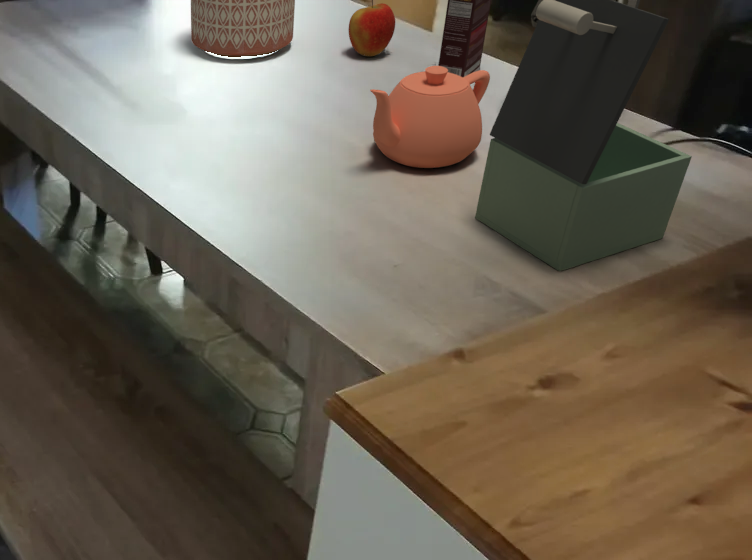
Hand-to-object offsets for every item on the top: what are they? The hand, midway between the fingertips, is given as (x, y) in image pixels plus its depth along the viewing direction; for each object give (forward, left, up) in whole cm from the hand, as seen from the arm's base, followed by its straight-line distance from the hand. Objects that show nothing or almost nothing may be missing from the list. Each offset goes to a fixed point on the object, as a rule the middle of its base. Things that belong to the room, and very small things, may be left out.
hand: (557, 75), depth 136 cm
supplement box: (+20, -16, -9) cm, 27 cm away
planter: (+61, -12, -9) cm, 63 cm away
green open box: (-12, +28, -8) cm, 32 cm away
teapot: (+13, +16, -9) cm, 23 cm away
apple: (+38, -19, -9) cm, 43 cm away
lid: (-9, +33, +11) cm, 36 cm away
